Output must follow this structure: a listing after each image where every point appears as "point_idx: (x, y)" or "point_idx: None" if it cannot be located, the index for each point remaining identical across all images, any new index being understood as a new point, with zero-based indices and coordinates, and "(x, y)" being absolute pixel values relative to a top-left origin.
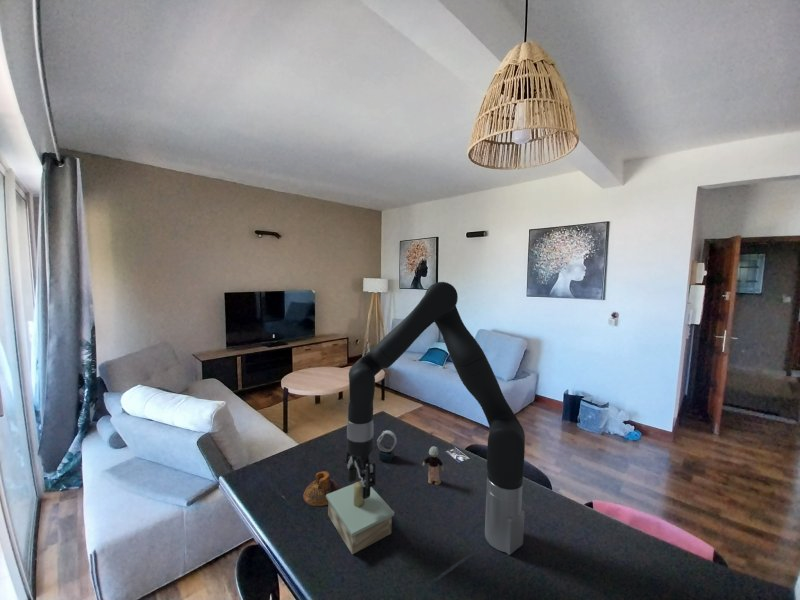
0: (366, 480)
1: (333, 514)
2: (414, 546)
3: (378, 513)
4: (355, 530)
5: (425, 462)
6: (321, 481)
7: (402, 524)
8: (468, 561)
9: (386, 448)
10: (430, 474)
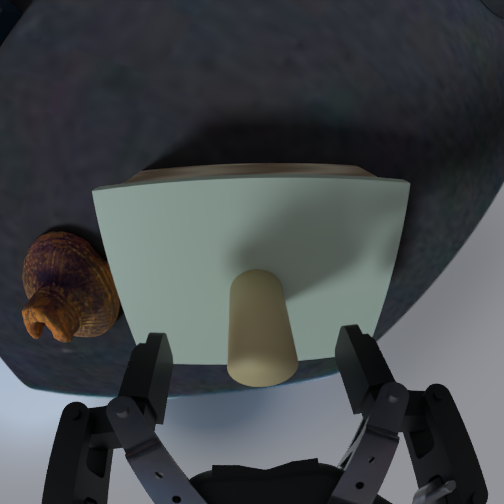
0: (421, 453)
1: None
2: (425, 135)
3: (369, 247)
4: None
5: None
6: (67, 340)
7: (342, 101)
8: (501, 79)
9: None
10: None
